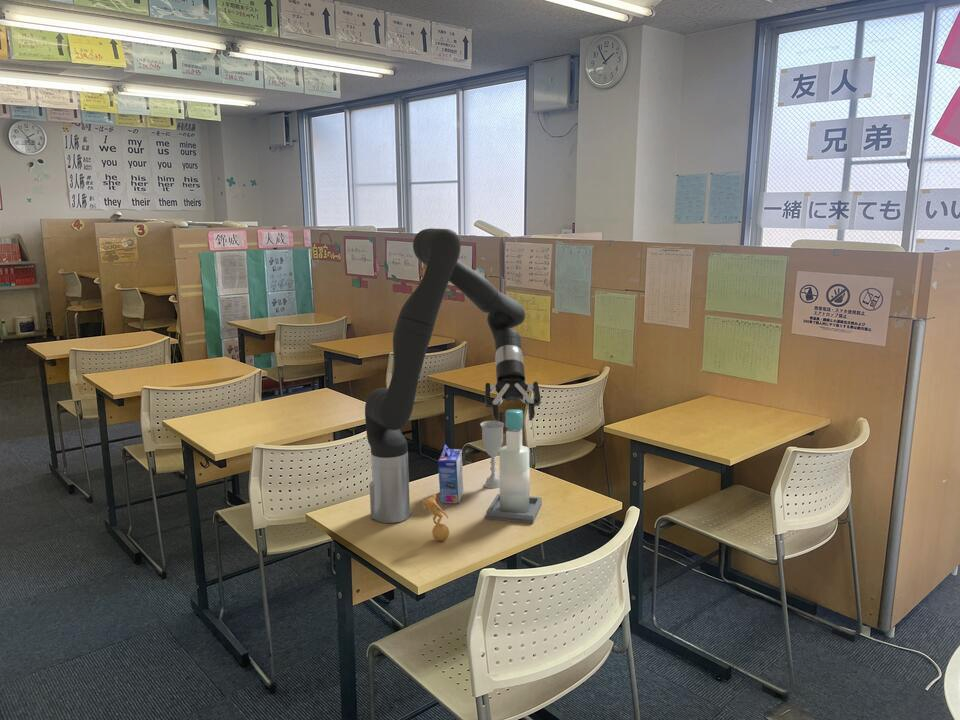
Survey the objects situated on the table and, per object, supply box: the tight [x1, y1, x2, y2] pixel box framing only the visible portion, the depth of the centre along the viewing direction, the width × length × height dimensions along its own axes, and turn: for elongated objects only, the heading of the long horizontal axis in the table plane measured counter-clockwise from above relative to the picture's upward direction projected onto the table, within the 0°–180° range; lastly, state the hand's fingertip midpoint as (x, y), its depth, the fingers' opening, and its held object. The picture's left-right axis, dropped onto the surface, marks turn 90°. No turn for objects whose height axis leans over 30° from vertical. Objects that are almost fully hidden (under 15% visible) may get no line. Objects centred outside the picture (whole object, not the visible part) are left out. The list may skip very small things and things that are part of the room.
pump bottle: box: [485, 428, 543, 524], centre depth 179 cm, size 12×12×22 cm
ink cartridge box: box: [437, 444, 464, 504], centre depth 190 cm, size 10×6×14 cm, turn 174°
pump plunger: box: [504, 408, 524, 432], centre depth 177 cm, size 4×4×10 cm
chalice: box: [479, 420, 506, 489], centre depth 198 cm, size 7×7×18 cm
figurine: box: [421, 493, 450, 542], centre depth 163 cm, size 8×6×12 cm
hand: (514, 419), depth 177 cm, fingers open, 8 cm apart
